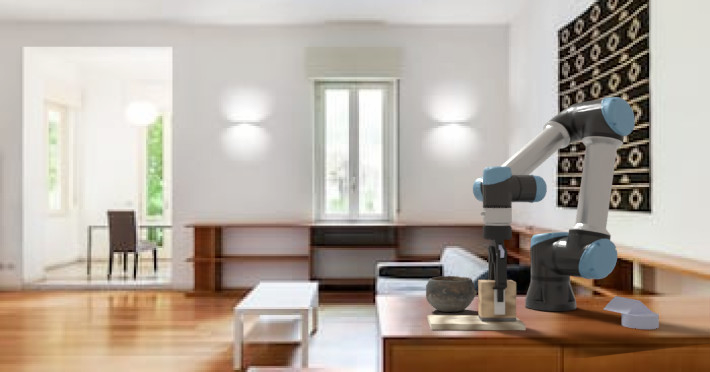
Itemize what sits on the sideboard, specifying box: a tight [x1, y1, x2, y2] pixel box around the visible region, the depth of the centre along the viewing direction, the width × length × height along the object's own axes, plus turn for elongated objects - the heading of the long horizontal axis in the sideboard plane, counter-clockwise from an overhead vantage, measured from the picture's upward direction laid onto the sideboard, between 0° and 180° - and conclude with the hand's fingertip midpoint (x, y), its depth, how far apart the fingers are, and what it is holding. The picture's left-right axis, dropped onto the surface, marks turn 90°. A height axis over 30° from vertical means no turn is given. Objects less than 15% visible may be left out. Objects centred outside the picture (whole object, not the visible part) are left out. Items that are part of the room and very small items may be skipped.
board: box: [426, 314, 527, 331], centre depth 167 cm, size 24×12×2 cm, turn 88°
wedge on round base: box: [603, 295, 660, 330], centre depth 168 cm, size 9×7×13 cm
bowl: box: [425, 275, 478, 313], centre depth 188 cm, size 14×15×10 cm
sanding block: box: [477, 279, 517, 321], centre depth 166 cm, size 9×5×10 cm, turn 88°
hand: (497, 312), depth 166 cm, fingers closed on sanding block, 5 cm apart
